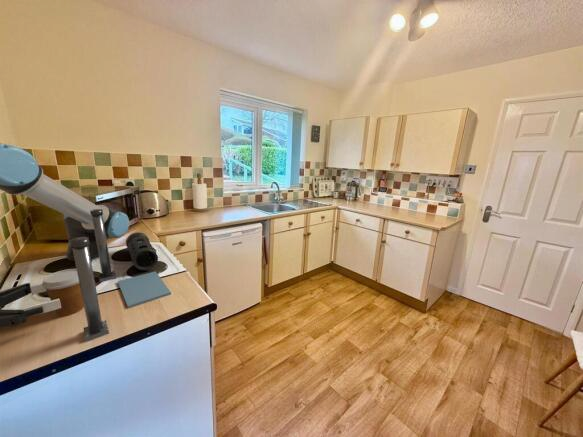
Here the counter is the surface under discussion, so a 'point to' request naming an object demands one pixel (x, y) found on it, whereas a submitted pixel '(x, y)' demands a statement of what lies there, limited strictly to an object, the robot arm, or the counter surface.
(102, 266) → the post
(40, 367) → the counter surface
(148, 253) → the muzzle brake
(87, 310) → the post
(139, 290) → the mat
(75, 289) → the disposable coffee cup
